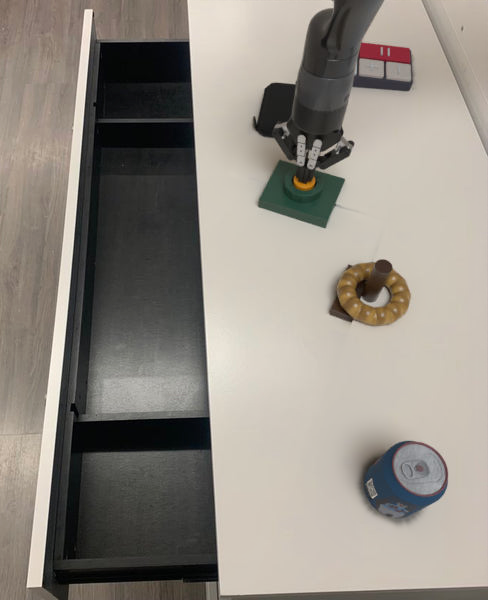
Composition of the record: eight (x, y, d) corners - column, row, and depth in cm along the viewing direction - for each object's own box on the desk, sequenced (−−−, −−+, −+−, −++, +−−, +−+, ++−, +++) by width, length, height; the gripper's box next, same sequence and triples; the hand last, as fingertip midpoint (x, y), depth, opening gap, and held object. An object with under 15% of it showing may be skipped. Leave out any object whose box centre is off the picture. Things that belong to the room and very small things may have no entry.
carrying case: (260, 89, 107) (249, 140, 100) (261, 76, 104) (249, 127, 97) (313, 95, 106) (306, 147, 98) (315, 82, 103) (308, 134, 96)
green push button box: (342, 187, 93) (347, 171, 89) (325, 228, 88) (329, 213, 85) (278, 168, 96) (280, 151, 92) (258, 207, 91) (259, 191, 88)
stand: (403, 288, 82) (424, 252, 74) (388, 336, 78) (408, 303, 70) (346, 269, 84) (360, 232, 76) (329, 314, 80) (342, 280, 72)
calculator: (414, 80, 101) (335, 70, 102) (406, 99, 105) (330, 89, 106) (412, 45, 106) (337, 36, 108) (404, 64, 110) (332, 55, 111)
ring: (413, 282, 81) (419, 272, 78) (397, 338, 76) (403, 329, 74) (346, 260, 83) (350, 250, 81) (327, 313, 78) (330, 304, 76)
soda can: (405, 459, 69) (439, 431, 58) (425, 515, 65) (465, 496, 55) (353, 467, 68) (377, 441, 58) (371, 524, 65) (400, 507, 55)
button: (316, 182, 90) (318, 175, 89) (309, 197, 89) (311, 190, 87) (296, 176, 91) (297, 169, 90) (289, 191, 90) (290, 183, 88)
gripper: (377, 86, 74) (349, 175, 88) (286, 64, 77) (274, 153, 92) (362, 120, 70) (335, 207, 85) (268, 95, 73) (258, 183, 88)
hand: (304, 179), depth 88 cm, fingers closed
